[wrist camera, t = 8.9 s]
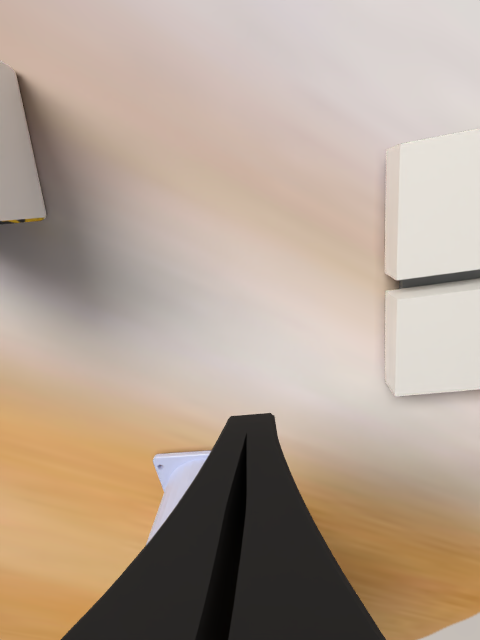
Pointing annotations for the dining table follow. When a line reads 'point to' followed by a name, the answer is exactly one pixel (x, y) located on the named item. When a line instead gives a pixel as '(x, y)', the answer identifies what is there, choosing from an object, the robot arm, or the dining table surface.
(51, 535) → the dining table surface
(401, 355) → the tile far
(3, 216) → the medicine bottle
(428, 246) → the tile near
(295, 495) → the robot arm
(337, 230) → the dining table surface
